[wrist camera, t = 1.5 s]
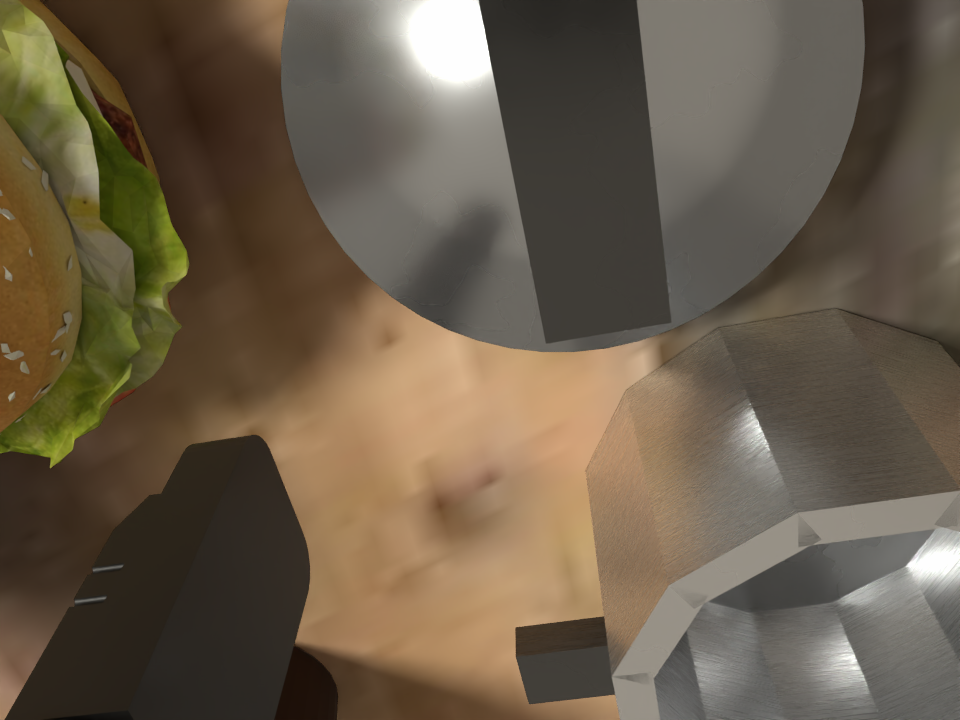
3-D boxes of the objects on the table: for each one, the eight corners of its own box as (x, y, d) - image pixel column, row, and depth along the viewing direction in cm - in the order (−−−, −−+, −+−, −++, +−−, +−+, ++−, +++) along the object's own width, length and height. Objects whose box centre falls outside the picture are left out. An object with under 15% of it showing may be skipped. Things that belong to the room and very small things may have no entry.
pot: (481, 366, 26) (474, 556, 19) (1098, 265, 24) (1335, 439, 17) (549, 642, 32) (561, 859, 26) (1042, 582, 30) (1199, 802, 23)
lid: (222, -154, 19) (104, -146, 14) (833, -308, 18) (991, -372, 12) (379, 347, 26) (344, 493, 20) (832, 269, 24) (933, 404, 19)
